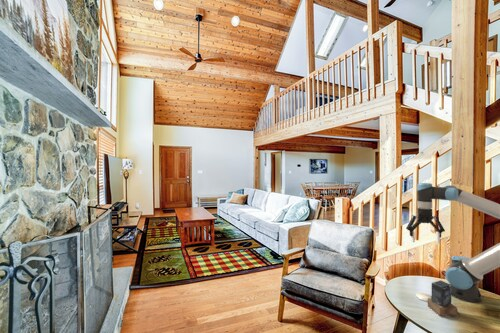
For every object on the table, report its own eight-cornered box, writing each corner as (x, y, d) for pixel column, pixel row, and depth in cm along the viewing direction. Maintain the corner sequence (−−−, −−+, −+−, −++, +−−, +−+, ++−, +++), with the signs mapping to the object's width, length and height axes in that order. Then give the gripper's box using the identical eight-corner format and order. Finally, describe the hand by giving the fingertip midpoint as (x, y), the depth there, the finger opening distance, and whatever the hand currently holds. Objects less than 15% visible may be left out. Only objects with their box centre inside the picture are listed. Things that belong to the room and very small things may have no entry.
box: (442, 307, 127) (442, 287, 127) (431, 301, 132) (430, 282, 132) (452, 304, 130) (451, 284, 130) (440, 298, 135) (440, 279, 135)
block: (444, 307, 135) (444, 298, 135) (457, 317, 126) (457, 307, 126) (427, 307, 135) (427, 298, 135) (439, 317, 126) (439, 307, 126)
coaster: (430, 294, 147) (430, 293, 147) (438, 302, 139) (438, 301, 139) (413, 293, 149) (413, 292, 149) (420, 301, 141) (420, 300, 141)
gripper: (444, 207, 150) (444, 241, 150) (400, 206, 155) (400, 239, 156) (451, 209, 143) (452, 245, 143) (404, 208, 148) (405, 242, 148)
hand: (425, 242), depth 149 cm, fingers open, 13 cm apart
